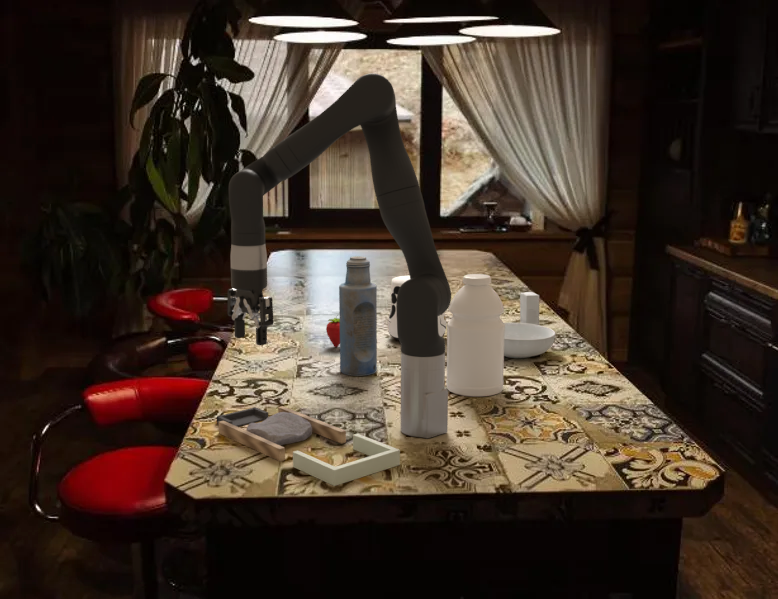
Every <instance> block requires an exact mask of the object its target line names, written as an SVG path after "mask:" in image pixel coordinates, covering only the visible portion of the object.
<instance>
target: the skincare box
mask: <svg viewBox="0 0 778 599" xmlns="http://www.w3.org/2000/svg"><path fill="white" fill-rule="evenodd" d="M519 304H520V305H519V307H520V308H519V323H528V324H535V325H540V294H537V293H535V292H534V291H526V292H525V291H523V292H519Z"/></svg>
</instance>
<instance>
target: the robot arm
mask: <svg viewBox="0 0 778 599" xmlns="http://www.w3.org/2000/svg"><path fill="white" fill-rule="evenodd" d="M397 111H398V110H397V102H396V94H395V89H394V87H393V85H392V83H391V82H390V81H389V79H387V78H386V77H385V76H383V75H382V74H378V73H367V74H363V75H361V76H359V77H358V78H357V79H356V80H355V81H354V82H353V83H352V84H351V85H350V87H348V88H347V89H346V91H344V92H343V93H342V94H341V95H340V96H339V97H338V98H337V100H335V101H334V102H332V104H331V105H329V107H327V108H326V109H325V110H323V111H322V112H321V113H319V114H318V115H317V116H316V117H314V118H313V119H312V120H310V121H309V122H307V123H306V124H304V125H303V126H302V127H300V128H298V129H297V130H296V131H294V132H292V133H291V134H290V135H289V136H287V137H286V138H284V139H283V140H280V141H279V142H278V143H277V144H275V145H274V146H273V147H272V148H270V149H269V150H268V151H266V153H265V154H264V155H262V156H261V157H259V158H258V159H255V161H252V162H251V163H250V164H248V165H247V166H245V167H244V168H242V169H241V170H239V171H237V172H236V173H235V174H234V175H232V177H231V178H230V180H229V183H228V201H229V211H230V218H231V222H230V223H231V226H230V227H231V228H230V234H231V246H230V247H231V248H230V283H231V284H230V286H231V288H228V289H227V316H228V317H231V320H232V321H233V324H234V325H233V327H234V328H233V330H234V337H235V338H237V339H241V338H245V336H246V321H245V318H246V315H249V317H250V319H251V320H253V322H254V325H255V344H256V345H257V346H264V345H267V343H268V327H269V326H273V325H274V309H273V308H274V307H273V306H274V304H273V297H272V296H264V293H263V290H264V289H266V288H267V286H268V256H267V255H268V254H267V248H266V224H265V220H264V217H263V216H264V215H263V214H264V212H263V209H264V206H263V205H264V196H265V195H266V194H267V193H269V192H270V191H271V190H273V189H274V188H275V187H276V186H278V185H280V184H281V183H282V182H284V181H286V180H288V179H290V178H292V177H293V176H294V175H296V174H297V173H299V172H300V171H302V169H304V168H306V167H307V166H308V165H310V164H311V163H313V162H314V161H315V160H316V159H317V158H318V157H320V156H321V155H322V154H323V153H325V151H326V150H328V148H330V147H331V146H332V145H333V144H334V143H335V142H336V141H338V140H339V139H340V138H342V137H343V136H344V135H346V134H347V133H349V132H350V131H351V130H354V129H355V128H357V127H360V128H361V131H362V132H363V136H364V139H365V141H366V145H367V148H368V153H369V154H368V155H369V158H370V159H369V160H370V169H371V170H370V172H371V177H372V183H373V184H372V185H373V189H374V194H375V197H376V201H377V205H378V209H379V213H380V217H381V219H382V221H383V223H384V225H385V226H386V229H387V231H388V232H389V233H390V235H391V236H392V238H393V239H394V240H395V243H397V245H398V246H399V248H400V250H401V252H402V254H403V257H404V259H405V262H406V266H407V270H408V273H409V274H408V275H410V279H409V280H407V281H406V282H404V283H403V284H402V285H401V287H400V288H399V291H398V294H397V302H396V310H397V334H398V339H399V340H398V341H399V344H400V431H401V433H402V434H403V435H407V436H409V437H415V438H424V439H430V438H433V437H436V436H440V435H442V434H443V435H444V434H446V433H448V424H449V423H448V422H449V421H448V417H449V415H448V414H449V411H448V410H449V390H448V389H447V387H446V388H445V384H446V379H445V377H446V372H445V371H446V341H445V338H444V336H443V337H441V336H439V333H438V316H439V315H441V314H443V313H445V312H447V310H449V306H450V304H451V301H452V291H451V287H450V283H449V281H448V277H447V275H446V272H445V270H444V267H443V265H442V262H441V259H440V257H439V254H438V251H437V248H436V245H435V242H434V238H433V233H432V229H431V226H430V222H429V218H428V215H427V210H426V207H425V202H424V198H423V194H422V192H421V187H420V183H419V180H418V177H417V175H416V171H415V168H414V166H413V163H412V161H411V159H410V156H409V154H408V152H407V149H406V147H405V144H404V142H403V138H402V133H401V129H400V122H399V118H398V112H397ZM233 306H234V307H233Z"/></svg>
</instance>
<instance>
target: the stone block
mask: <svg viewBox="0 0 778 599" xmlns="http://www.w3.org/2000/svg"><path fill="white" fill-rule="evenodd" d="M245 430H246V431H248V432H250V433H253V434H255V435H257V436H259V437H262V438H264V439H266V440H268V441H271V442H273V443H275V444H277V445H280V446H284V445H289V444H293V443H298V442H301V441H305V440H307V439H308V438H309V437H311V435H312V433H313V432H312V427H311V424H310V423H309V422H308V421H307V420H305V419H304V418H302V417H300V416H299V415H295V414H293V413H286V412H279V413H278V412H277V413H274V414H272V415H270V416H268V418H267V419H266V420H262V421H258V422H254V423H250V424H247V426H246V429H245Z"/></svg>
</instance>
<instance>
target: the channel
mask: <svg viewBox="0 0 778 599" xmlns="http://www.w3.org/2000/svg"><path fill="white" fill-rule="evenodd" d="M277 408H278V410H277V413H279V412H286V413H293V414H295V415H299V416H300V417H302V418H304V419H305V420H307V421H308V422H309V423H310V424H311V427H312V433H314V434H315V435H316V434H317V435H319V436H321V437H323V438H327V439H329V440H331V441H333V442H335V443H338V444H341V445H343V444H346V442H347V440H346V439H347V432H346V430H345V429H342V428H340V427H337V426H334V425H332V424H330V423H327V422H324V421H321V420H319V419H316V418H314V417H311V416H309V415H306V414H304V413H302V412H300V411H299V412H298V411H296V410H294V409H290V408H288V407H286V406H283V405H281V406H277ZM246 430H247V429H243V428H241V427H240V426H238V427H237V426H235V425H232V424H230V423H228V422H226V421H220V422H219V424H218V434H220V435H222V436H223V437H226V438H229V439H231V440H233V441H235V442H237V443H240V444H241V445H243V446H245V447H248V448H250V449H252V450H254V451H257V452H259V453H260V454H263V455H265V456H267V457H270V458H271V459H274V460H276V461H278V462H283V461H285V460H286V449H285V448H286V447H284V446H283V445H277V444H275V443H273V442H271V441H268V440H266V439H264V438H262V437H259V436H257V435H255V434H253V433H250V432H248V431H246Z"/></svg>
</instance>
